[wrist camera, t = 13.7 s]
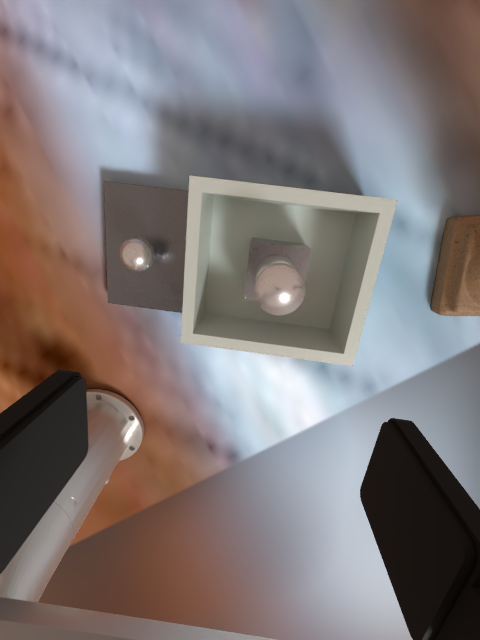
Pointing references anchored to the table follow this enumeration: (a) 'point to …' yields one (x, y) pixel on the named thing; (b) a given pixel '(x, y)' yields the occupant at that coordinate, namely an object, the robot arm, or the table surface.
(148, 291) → the stud base
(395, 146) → the table surface
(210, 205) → the bin
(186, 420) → the table surface
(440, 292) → the candle holder
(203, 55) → the table surface
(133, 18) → the table surface
